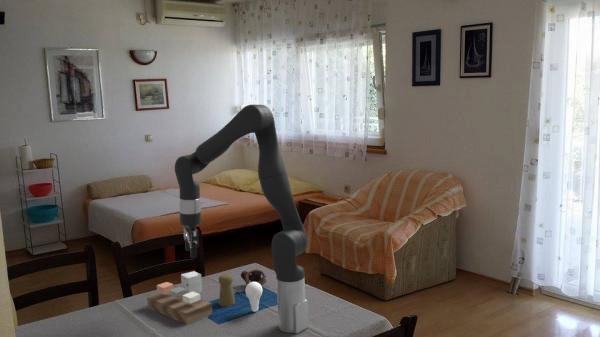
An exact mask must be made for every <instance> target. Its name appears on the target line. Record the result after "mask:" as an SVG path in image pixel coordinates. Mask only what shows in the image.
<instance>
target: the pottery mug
mask: <svg viewBox="0 0 600 337" xmlns="http://www.w3.org/2000/svg"><path fill="white" fill-rule="evenodd" d="M240 276H241V279H243V281H244V282H245V284H246V285H248V284H249V283H251V282H258V283H259V284H260V285H261V286H264V284H266V283H267V282H268V281H267V280H266V278H267V275H266V274H265V272H264V271H262V270H260V269H254V268H253V269H251V270H249V271H247V270H243V271H242V272H241V273H240Z"/></svg>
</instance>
